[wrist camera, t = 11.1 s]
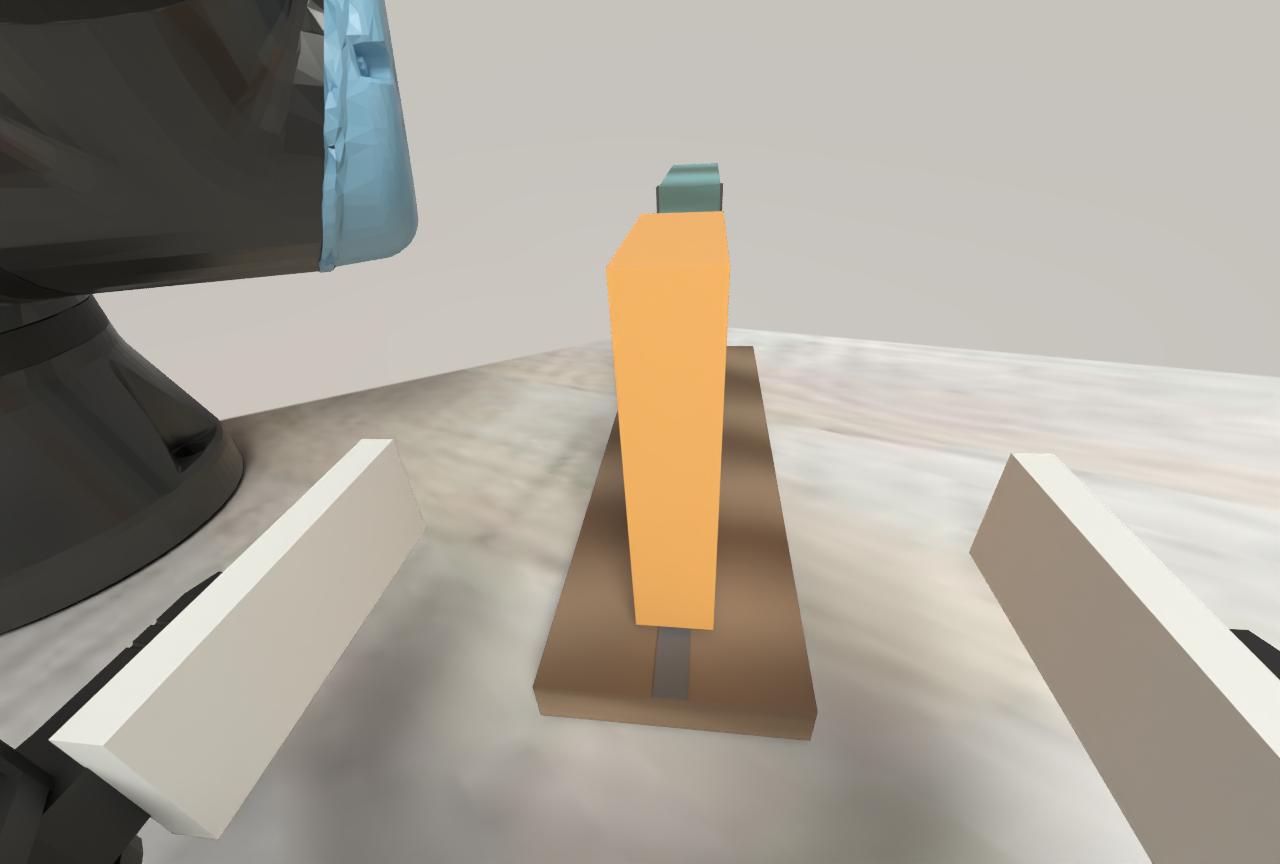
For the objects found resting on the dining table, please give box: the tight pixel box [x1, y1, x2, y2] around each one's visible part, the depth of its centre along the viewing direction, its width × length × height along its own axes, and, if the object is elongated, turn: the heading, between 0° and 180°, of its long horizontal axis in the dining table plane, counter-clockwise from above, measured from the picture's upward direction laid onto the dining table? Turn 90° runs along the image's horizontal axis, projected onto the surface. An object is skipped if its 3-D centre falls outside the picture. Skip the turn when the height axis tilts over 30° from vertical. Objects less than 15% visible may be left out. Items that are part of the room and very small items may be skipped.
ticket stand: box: [533, 163, 817, 741], centre depth 22 cm, size 25×8×13 cm, turn 173°
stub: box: [606, 211, 730, 630], centre depth 15 cm, size 6×2×11 cm, turn 173°
